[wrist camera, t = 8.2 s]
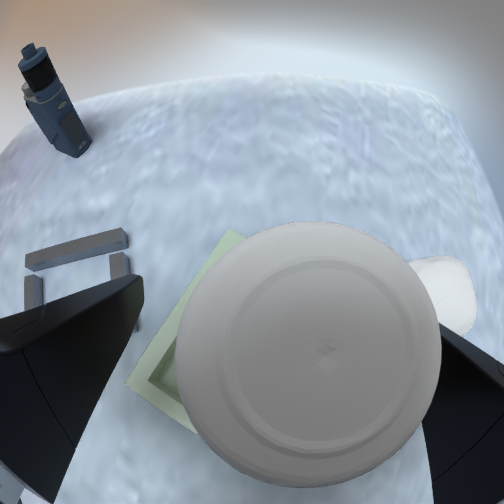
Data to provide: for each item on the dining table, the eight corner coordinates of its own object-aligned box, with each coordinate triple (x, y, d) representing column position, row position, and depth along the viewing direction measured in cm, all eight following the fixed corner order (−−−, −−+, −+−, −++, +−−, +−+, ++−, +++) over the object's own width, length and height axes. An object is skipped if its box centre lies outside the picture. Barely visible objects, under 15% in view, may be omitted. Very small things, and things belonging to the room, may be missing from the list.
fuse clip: (138, 331, 17) (131, 328, 16) (36, 346, 16) (26, 344, 15) (127, 234, 20) (121, 227, 18) (34, 259, 19) (25, 254, 17)
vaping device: (79, 161, 22) (19, 58, 11) (50, 147, 23) (-4, 59, 12) (97, 141, 23) (48, 35, 12) (66, 129, 24) (20, 39, 13)
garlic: (379, 368, 17) (408, 366, 13) (360, 271, 19) (383, 250, 16) (463, 339, 18) (495, 330, 14) (444, 257, 20) (471, 238, 17)
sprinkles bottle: (241, 313, 18) (242, 174, 5) (312, 339, 17) (467, 267, 4) (211, 383, 16) (122, 432, 3) (285, 410, 15) (396, 510, 3)
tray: (375, 324, 18) (388, 319, 16) (289, 472, 14) (295, 483, 12) (230, 241, 20) (229, 227, 18) (136, 382, 16) (124, 383, 14)
